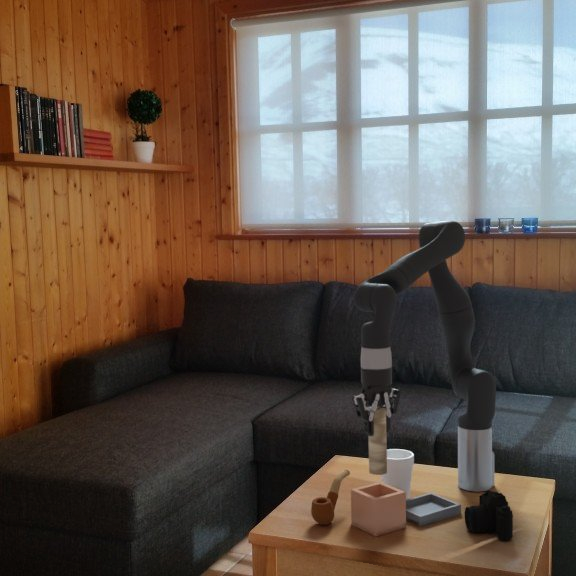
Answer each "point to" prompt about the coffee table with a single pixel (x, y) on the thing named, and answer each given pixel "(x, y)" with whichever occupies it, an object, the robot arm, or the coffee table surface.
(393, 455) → the foam cup
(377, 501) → the deep box
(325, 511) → the smoking pipe
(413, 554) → the coffee table surface
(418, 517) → the tray
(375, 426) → the maple dowel
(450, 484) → the coffee table surface
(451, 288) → the robot arm
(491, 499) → the film camera
